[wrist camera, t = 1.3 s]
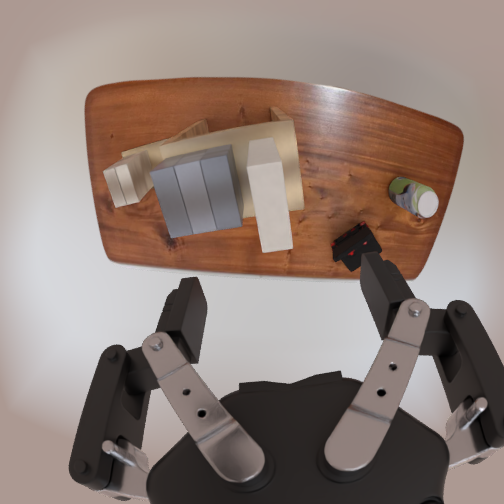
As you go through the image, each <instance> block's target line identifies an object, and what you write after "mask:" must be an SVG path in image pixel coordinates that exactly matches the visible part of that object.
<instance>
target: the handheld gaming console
mask: <svg viewBox="0 0 504 504" xmlns="http://www.w3.org/2000/svg"><path fill="white" fill-rule="evenodd" d="M331 247H332V251H333V260H334V261H335V262H337V261H339V260H340V259H341V260H342V261H343V262H344V264H345V265H346V266H347V268H348V269H349V270H350V271H351V272H352V271H354V270H356V269H357V268H359V267H360V266H361V256H362V254H363V253H370V252H376V251H377V252H378V253H381V252H382V249H381V247H380V245H379V244H378V242H377V241H376V239H375V237H374V235H373V233H372V232H371V230H370V229H369V228H368V225H366V223H365V222H364V221H363V222H362V223H361V224H360V223H359V224H357V225H356V226H355V227H353V228H352V229H350V230H349V231H348V232H346V233H345V234H343V235H342V236H340V237H339V238H337V239H336V240H335V241H334V242H333V243H332V244H331Z"/></svg>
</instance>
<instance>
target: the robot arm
mask: <svg viewBox="0 0 504 504" xmlns="http://www.w3.org/2000/svg"><path fill="white" fill-rule="evenodd" d="M360 284H361V289H362V292H363V295H364V297H365V299H366V302H367V304H368V307H369V309H370V312H371V314H372V316H373V319H374V321H375V324H376V327H377V329H378V332H379V334H380V337H381V340H384V341H383V343H382V345H381V347H380V350H379V352H378V354H377V356H376V358H375V360H374V363H373V364H372V366H371V368H370V370H369V372H368V374H367V376H366V378H365V380H364V382H361V381H359V380H356V379H352V378H343V377H342V374H341V371H335V372H329V373H324V374H318V375H314V376H311V377H308V378H306V379H303V380H300V381H297V382H295V383H292V384H286V383H276V382H268V381H259V382H246V383H239V390H237V391H234V392H232V393H230V394H228V395H226V396H224V397H223V398H221V399H220V400H218V399H217V398H216V397H215V395H214V394H213V393H212V392H211V390H210V389H209V388H208V386H207V385H206V384H205V383H204V381H203V380H202V379H201V377H200V376H199V375H198V373H197V372H196V371H195V369H194V368H193V367H192V365H191V364H196V363H198V361H199V356H200V350H201V344H202V338H203V332H204V327H205V321H206V316H207V302H206V299H205V296H204V293H203V290H202V287H201V285H200V282H199V279H198V278H197V277H189V278H182V279H181V282H180V285H179V288H178V289H174V290H173V291H172V292H171V293H170V294H169V295H168V296H167V299H166V302H165V306H164V308H163V312H162V313H161V316H160V319H159V322H158V325H157V328H156V331H155V333H153V334H151V335H149V336H148V337H147V338H146V339H145V340H144V341H143V344H142V346H141V347H138V348H135V349H132V350H128V351H126V350H125V348H124V347H123V346H122V345H112V346H110V347H108V348H107V349H105V350H104V352H103V353H102V354H101V357H100V359H99V362H98V365H97V368H96V371H95V374H94V377H93V380H92V383H91V386H90V389H89V392H88V395H87V398H86V402H85V405H84V408H83V411H82V415H81V418H80V422H79V426H78V429H77V433H76V437H75V441H74V445H73V449H72V453H71V457H70V462H69V473H70V475H71V477H72V479H74V480H75V481H76V482H78V483H80V484H82V485H84V486H86V487H88V488H89V489H91V490H93V491H96V492H98V493H100V494H103V495H105V496H108V497H113V498H115V499H118V500H121V501H127V500H129V499H131V498H133V499H138V500H144V501H150V503H151V504H444V501H443V491H444V484H445V479H446V475H447V471H448V470H451V469H453V468H455V467H458V466H461V465H463V464H465V463H469V464H478V463H480V462H482V461H483V460H485V459H486V458H488V457H489V456H491V455H492V454H493V453H495V452H496V451H498V450H499V449H501V448H502V447H503V446H504V366H503V364H502V362H501V360H500V358H499V355H498V353H497V351H496V350H495V348H494V346H493V344H492V342H491V340H490V338H489V336H488V334H487V332H486V330H485V329H484V327H483V325H482V323H481V322H480V320H479V318H478V316H477V315H476V313H475V311H474V310H473V308H472V307H471V305H469V304H468V303H467V302H465V301H461V300H455V301H452V302H450V303H449V304H448V306H447V309H431V308H429V306H428V305H427V304H426V303H425V302H424V301H422V300H420V299H416V298H415V296H414V294H413V293H412V291H411V289H410V287H409V286H408V284H407V283H406V281H405V279H404V278H403V276H402V274H400V271H399V270H398V268H397V266H396V265H395V264H393V263H392V262H390V261H389V260H385V261H383V260H382V258H381V256H380V255H379V253H378V252H377V251H376V252H370V253H363V254H362V256H361V273H360ZM418 355H429V356H433V359H434V362H435V364H436V367H437V369H438V373H439V375H440V378H441V381H442V384H443V387H444V390H445V393H446V396H447V399H448V402H449V406H450V409H451V412H452V414H451V416H450V417H449V418H448V420H447V423H446V438H445V440H444V439H443V438H442V437H441V436H440V435H439V434H438V433H436V432H435V431H433V430H432V429H431V428H429V427H428V426H426V425H425V424H423V423H422V422H420V421H419V420H417V419H416V418H414V417H413V416H412V415H410V414H409V413H407V412H406V411H404V410H403V409H401V408H400V407H399V404H400V402H401V399H402V397H403V394H404V392H405V390H406V387H407V385H408V382H409V379H410V377H411V374H412V371H413V369H414V366H415V363H416V360H417V357H418ZM158 388H161V389H162V390H163V392H164V394H165V396H166V397H167V399H168V401H169V402H170V404H171V406H172V407H173V409H174V410H175V412H176V414H177V415H178V417H179V418H180V420H181V421H182V423H183V425H184V426H185V427H186V429H187V431H188V432H187V434H185V435H184V437H182V439H181V440H180V441H179V442H178V443H177V444H175V445H174V447H172V448H171V449H170V450H169V451H168V452H167V453H166V454H165V455H164V456H163V457H162V458H161V459H160V460H159V461H158V462H157V463H156V464H155V465H154V466H153V467H152V469H151V470H149V467H148V458H147V456H146V454H145V453H144V452H143V451H141V447H142V441H143V434H144V428H145V422H146V415H147V410H148V404H149V398H150V394H151V390H154V389H158Z"/></svg>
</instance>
